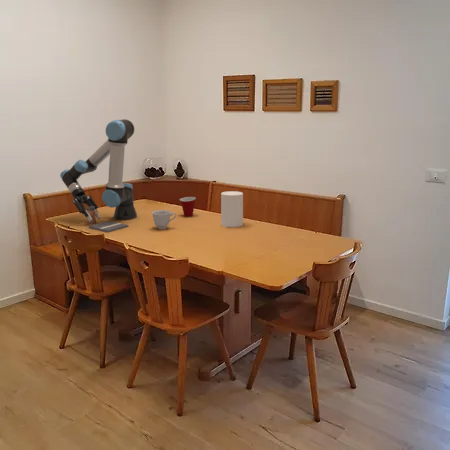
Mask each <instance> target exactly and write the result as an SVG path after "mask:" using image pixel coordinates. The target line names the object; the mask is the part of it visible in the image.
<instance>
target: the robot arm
mask: <svg viewBox="0 0 450 450" xmlns="http://www.w3.org/2000/svg"><path fill="white" fill-rule="evenodd" d="M134 133H135V125H134V124H133V122H132V121H130V120H129V119H114V120H111V121H110V122H108V124H106V126H105V135H106V136H107V140H106V141H105V142H104V143H102V145H101V146H100V147H98V148H97V149H96V150H95V151H94V153H93V154H91V155H90V156H89V158H87V159H86V160H83V159H78V160H76V162H74V164H73V166H72V167H71V168H70V169H64V170H63V171H61V173H60V179H61V180H62V182H63V183H64V185H65V187H66V188H67V190H68V191H69V193H70V195H72V197H73V200H72V203H73V204H74V205H75V207H76V209H77V210H78V212H79V214H82V215H84V216H85V217H86V219H87V218H88V220H89V221H90V222H91V220H92V217H91V216H90V214H89V213H88V211H87V209H86V207H85V205H86V206H95V219H96V220H99V219H100V218H101V215H100V214H99V211H98V210H97V209H98V207H99V206H98V205H97V203H96V202H95V200H93V198H92V197H93V196H92V195H88V196H87V195H86V192H85V191H84V189H83V188H82V185H81V184H80V183H79V182H78V179H79V178H80V177H81V176H82V175H85V174H88V173H92V172H95V171H96V170H97V168H98V166H99V165H101V163H102V162H103V161H105V159H107V158H108V157H109V167H108V181H107V183H105V190H104V191H103V193H102V195H101V200H102V202H103V204H104V205H105V206H106V207H108V208H115V209H114V213H113V219H115V220H118V221H126V220H133V219H136V218H137V217H138V214H137V211H136V208H135V206H134V204H135V201H134V188H133V187H134V186H133V184H132V183H127V182H126V183H125V182H124V183H123V177H124V161H125V148H126V145H127V144H128V141H129V139H130V138H132V136H133V135H134Z"/></svg>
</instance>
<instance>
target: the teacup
mask: <svg viewBox="0 0 450 450" xmlns="http://www.w3.org/2000/svg"><path fill="white" fill-rule="evenodd" d="M151 214H152V217H153V222H154V223H153V224H154V225H155V226H156V227H157V229H158V230H165V229H167V228H168V226H169V224H170V222H171V221H174V220H176V219H177V214H176V212H172V211H171V210H169V209H168V210H167V209H157V210H153V211H151ZM173 215H174V217H173V218H171V217H172V216H173Z"/></svg>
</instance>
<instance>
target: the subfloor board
mask: <svg viewBox="0 0 450 450" xmlns="http://www.w3.org/2000/svg"><path fill="white" fill-rule="evenodd" d="M126 228H129V224H126V223H121V222H117V221H111V220H108V221H104V222H99V223H96V224H93V225H88V229H92V230H95V231H101V232H104V233H111V232H115V231H118V230H122V229H126Z"/></svg>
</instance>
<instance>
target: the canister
mask: <svg viewBox="0 0 450 450" xmlns="http://www.w3.org/2000/svg"><path fill="white" fill-rule="evenodd" d="M220 195H221V196H220V199H221V200H220V204H221V205H220V209H221V211H220V212H221V214H220V217H221V219H220V220H221V223H220V224H221V226H222V227H226V228H239V227H242V226H244V193H243V192H242V191H236V190H230V191H229V190H228V191H227V190H226V191H223V192H221V193H220Z"/></svg>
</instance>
